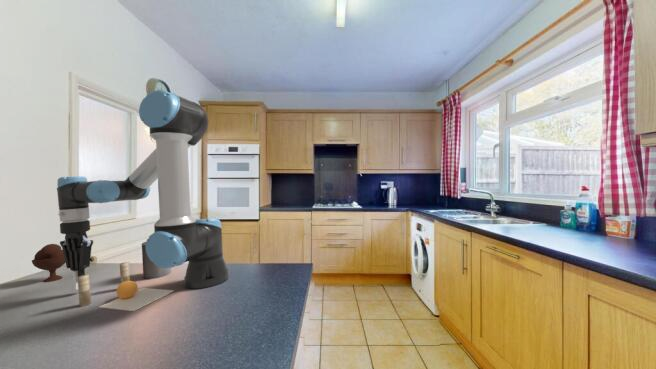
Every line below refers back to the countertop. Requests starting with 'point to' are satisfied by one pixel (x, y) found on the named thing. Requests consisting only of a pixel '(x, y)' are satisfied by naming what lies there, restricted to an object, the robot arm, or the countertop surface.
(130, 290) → the ball
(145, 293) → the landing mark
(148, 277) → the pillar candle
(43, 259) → the ice cream bowl
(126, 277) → the right post
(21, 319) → the countertop surface
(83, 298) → the left post
